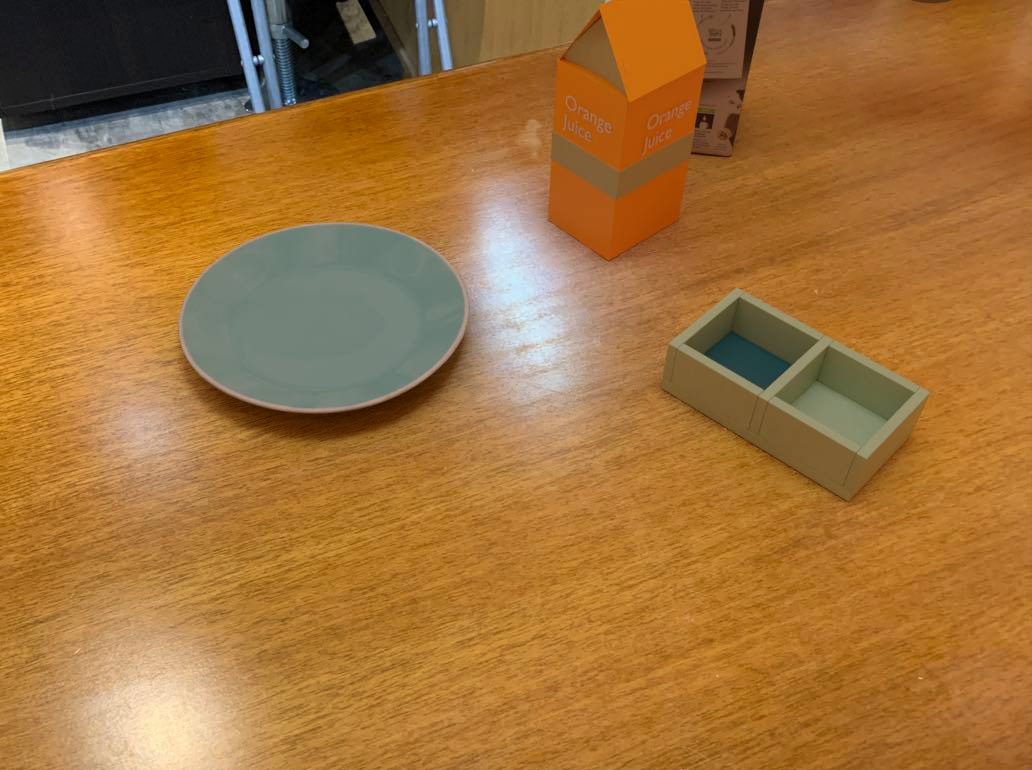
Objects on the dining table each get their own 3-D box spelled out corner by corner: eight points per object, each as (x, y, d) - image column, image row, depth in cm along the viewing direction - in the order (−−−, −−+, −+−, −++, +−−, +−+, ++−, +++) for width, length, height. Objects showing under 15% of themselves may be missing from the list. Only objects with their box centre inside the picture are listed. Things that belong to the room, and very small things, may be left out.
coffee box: (733, 158, 100) (770, -20, 88) (664, 151, 101) (690, -27, 88) (735, 104, 106) (771, -70, 93) (669, 98, 106) (695, -76, 94)
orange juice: (545, 219, 94) (559, -14, 79) (616, 180, 98) (643, -50, 82) (609, 262, 91) (637, 28, 75) (680, 220, 95) (721, -12, 79)
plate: (149, 293, 88) (140, 265, 86) (399, 218, 94) (397, 190, 92) (240, 478, 76) (233, 451, 74) (519, 378, 82) (520, 350, 80)
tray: (910, 436, 79) (931, 392, 76) (848, 502, 75) (866, 459, 72) (726, 332, 86) (736, 286, 82) (659, 387, 82) (668, 343, 78)
